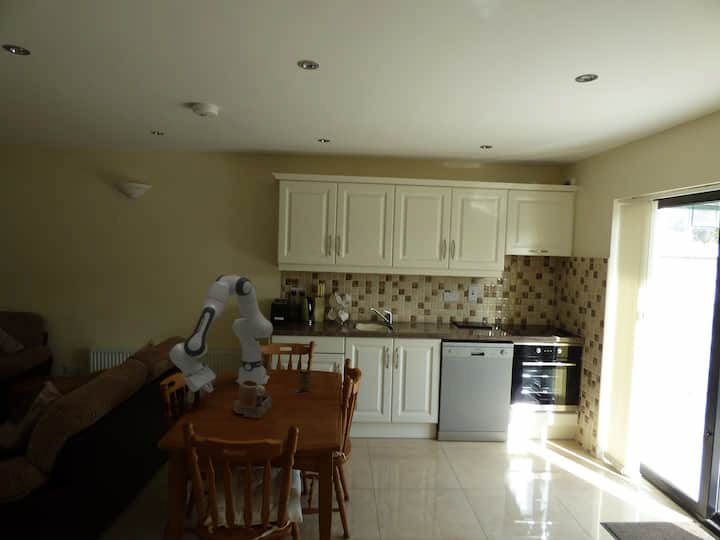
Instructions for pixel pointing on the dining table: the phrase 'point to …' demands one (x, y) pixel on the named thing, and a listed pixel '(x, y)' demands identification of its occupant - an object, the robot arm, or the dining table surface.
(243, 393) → the stone cup
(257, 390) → the cradle
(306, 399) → the dining table surface
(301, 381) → the condiment
